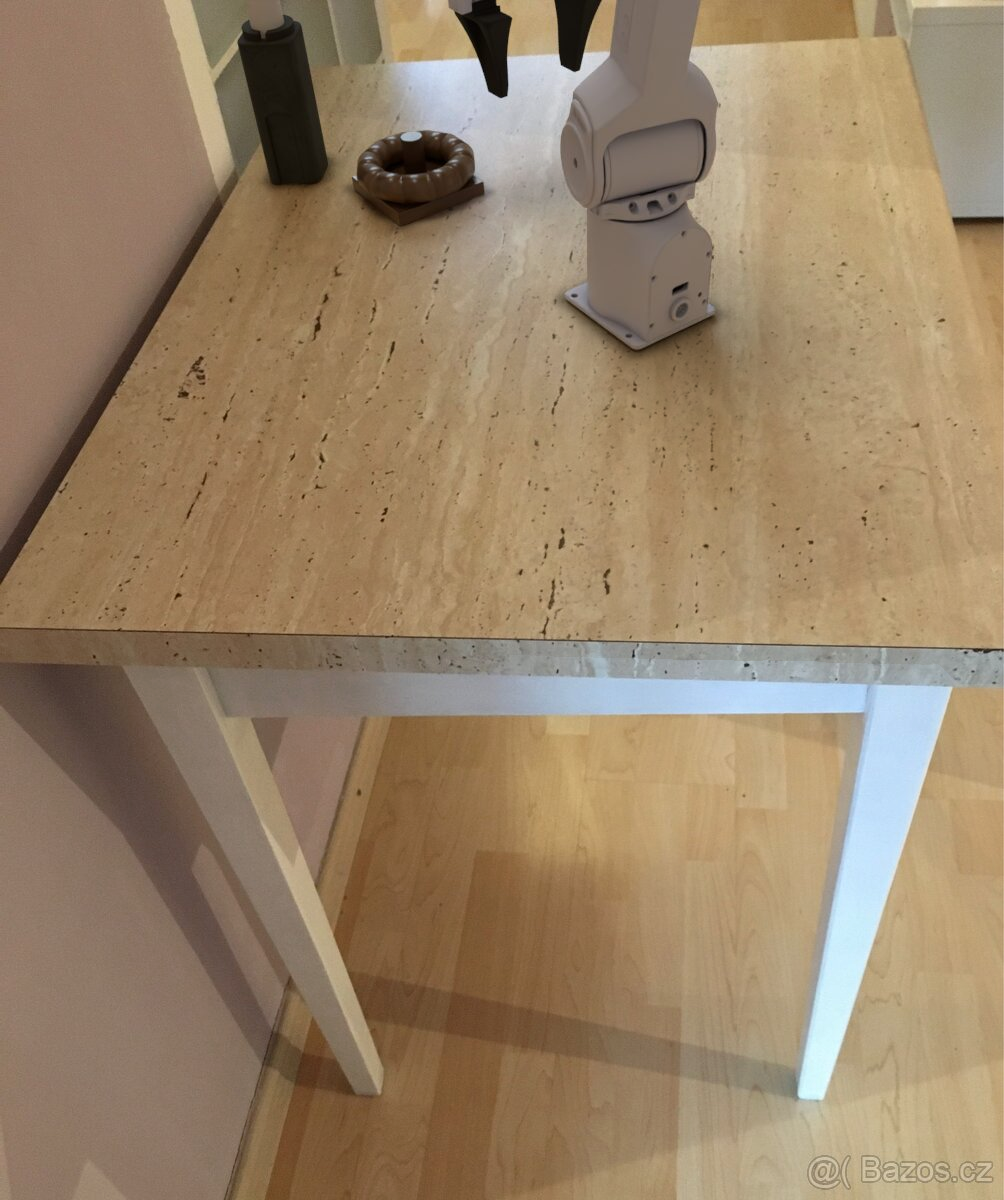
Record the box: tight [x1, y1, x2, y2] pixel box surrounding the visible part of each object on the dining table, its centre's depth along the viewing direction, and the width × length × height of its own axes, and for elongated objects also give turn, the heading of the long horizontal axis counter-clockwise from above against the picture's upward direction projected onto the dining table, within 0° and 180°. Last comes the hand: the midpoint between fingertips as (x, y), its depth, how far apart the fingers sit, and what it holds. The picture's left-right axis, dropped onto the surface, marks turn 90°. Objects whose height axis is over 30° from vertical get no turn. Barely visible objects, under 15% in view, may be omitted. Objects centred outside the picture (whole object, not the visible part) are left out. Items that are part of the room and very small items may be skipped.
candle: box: [236, 0, 329, 186], centre depth 93 cm, size 5×5×25 cm
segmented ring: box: [356, 129, 476, 204], centre depth 96 cm, size 11×11×2 cm
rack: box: [351, 130, 485, 227], centre depth 96 cm, size 9×9×5 cm
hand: (534, 80), depth 90 cm, fingers open, 7 cm apart
